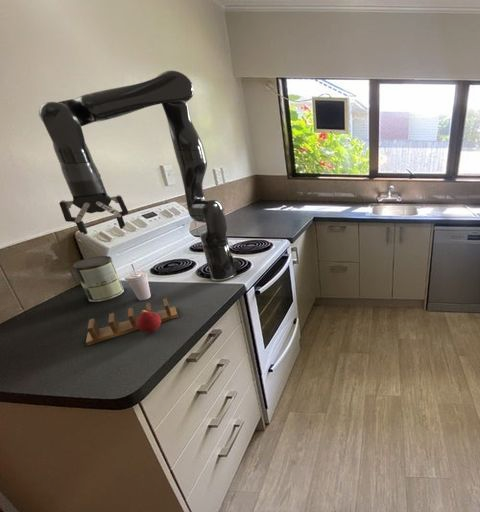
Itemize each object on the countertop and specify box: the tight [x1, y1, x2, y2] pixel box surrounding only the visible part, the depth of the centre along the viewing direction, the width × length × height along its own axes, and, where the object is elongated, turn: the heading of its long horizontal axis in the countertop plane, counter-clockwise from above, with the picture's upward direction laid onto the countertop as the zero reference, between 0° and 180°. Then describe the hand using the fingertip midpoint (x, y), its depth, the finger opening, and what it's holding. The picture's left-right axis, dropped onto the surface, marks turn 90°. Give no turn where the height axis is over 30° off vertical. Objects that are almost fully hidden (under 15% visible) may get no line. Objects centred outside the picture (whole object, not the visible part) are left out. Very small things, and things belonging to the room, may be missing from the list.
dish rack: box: [85, 297, 179, 346], centre depth 90 cm, size 22×6×5 cm, turn 130°
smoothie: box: [124, 263, 152, 301], centre depth 105 cm, size 6×6×14 cm
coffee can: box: [71, 255, 125, 303], centre depth 107 cm, size 10×10×14 cm
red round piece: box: [136, 309, 162, 334], centre depth 87 cm, size 6×6×8 cm
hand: (104, 230), depth 91 cm, fingers open, 8 cm apart
